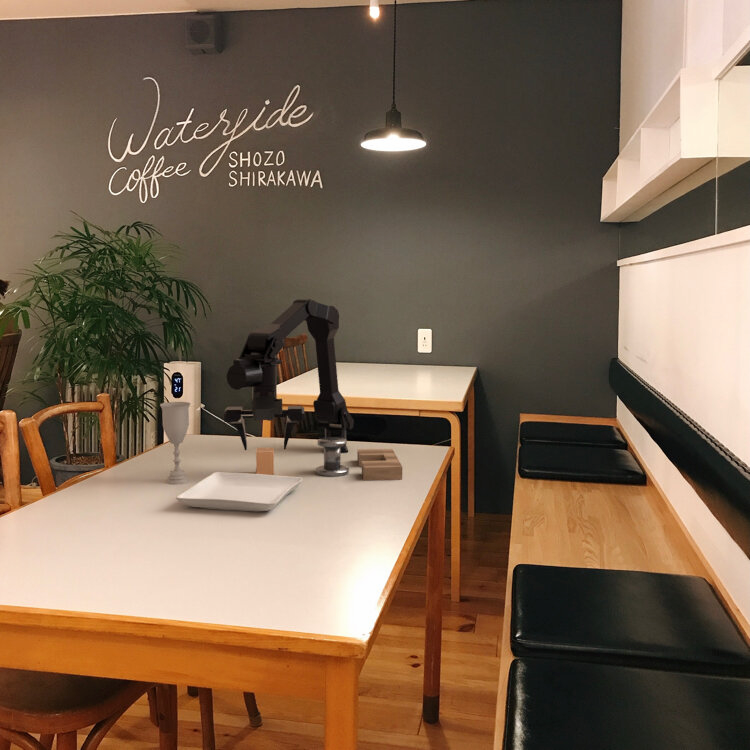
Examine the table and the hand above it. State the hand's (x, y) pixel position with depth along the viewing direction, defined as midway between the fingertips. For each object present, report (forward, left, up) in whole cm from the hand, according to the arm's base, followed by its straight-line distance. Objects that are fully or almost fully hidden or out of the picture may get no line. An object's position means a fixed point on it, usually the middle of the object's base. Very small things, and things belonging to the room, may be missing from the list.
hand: (265, 449), depth 195 cm
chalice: (+5, -20, -6) cm, 22 cm away
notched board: (-2, +27, -6) cm, 28 cm away
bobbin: (0, +16, -6) cm, 17 cm away
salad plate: (+22, -4, -7) cm, 23 cm away
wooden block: (0, 0, -6) cm, 6 cm away
